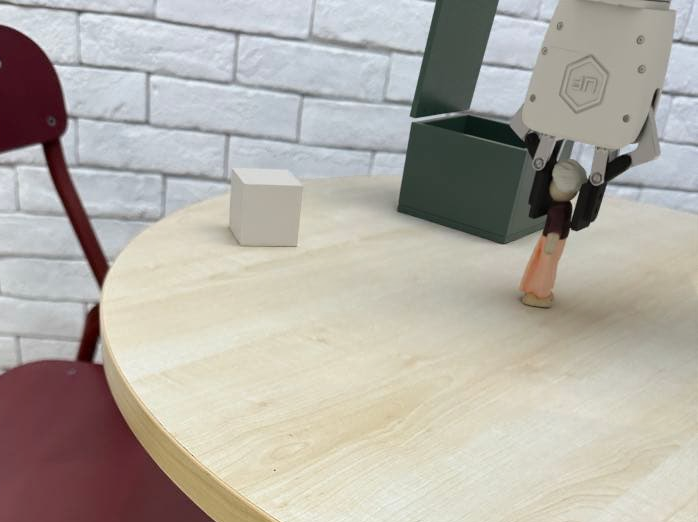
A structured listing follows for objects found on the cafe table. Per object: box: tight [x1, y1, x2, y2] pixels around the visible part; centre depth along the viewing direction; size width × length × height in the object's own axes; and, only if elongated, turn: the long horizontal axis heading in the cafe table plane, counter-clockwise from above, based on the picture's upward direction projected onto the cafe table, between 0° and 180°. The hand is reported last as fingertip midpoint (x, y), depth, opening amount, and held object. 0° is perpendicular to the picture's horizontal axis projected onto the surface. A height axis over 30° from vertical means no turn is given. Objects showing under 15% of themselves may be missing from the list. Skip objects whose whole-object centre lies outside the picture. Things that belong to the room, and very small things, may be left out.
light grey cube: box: [228, 167, 304, 247], centre depth 87 cm, size 6×6×6 cm
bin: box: [396, 112, 576, 245], centre depth 100 cm, size 15×13×10 cm
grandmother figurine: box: [518, 158, 589, 308], centre depth 78 cm, size 8×4×13 cm, turn 168°
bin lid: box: [409, 0, 500, 119], centre depth 96 cm, size 16×13×5 cm
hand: (559, 220), depth 77 cm, fingers closed on grandmother figurine, 3 cm apart
